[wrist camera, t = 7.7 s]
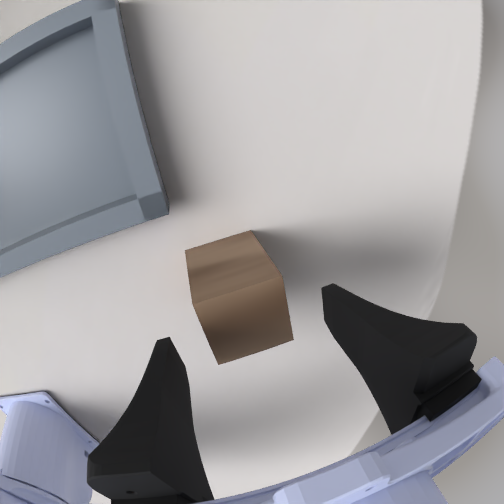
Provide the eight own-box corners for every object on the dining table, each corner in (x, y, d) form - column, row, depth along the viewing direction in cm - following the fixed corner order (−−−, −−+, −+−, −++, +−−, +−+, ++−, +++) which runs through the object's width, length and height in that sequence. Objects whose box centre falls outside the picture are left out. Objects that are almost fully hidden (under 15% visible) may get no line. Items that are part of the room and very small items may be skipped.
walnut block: (263, 285, 20) (293, 339, 15) (204, 304, 19) (218, 364, 14) (250, 230, 18) (282, 275, 13) (184, 250, 17) (192, 304, 13)
